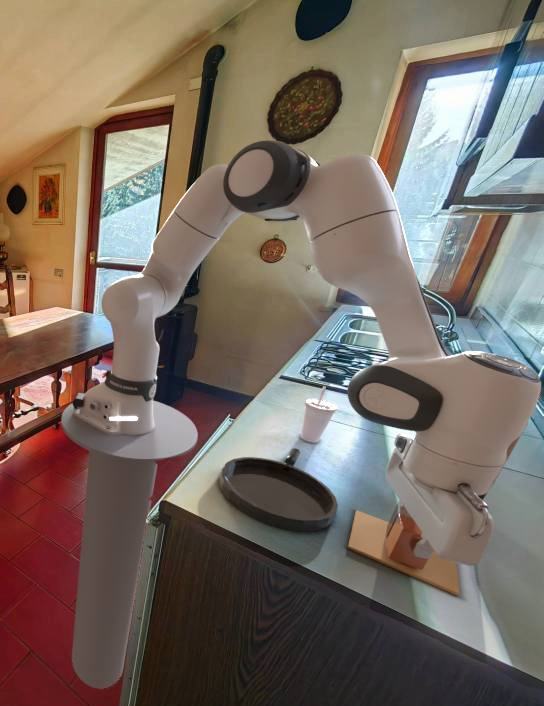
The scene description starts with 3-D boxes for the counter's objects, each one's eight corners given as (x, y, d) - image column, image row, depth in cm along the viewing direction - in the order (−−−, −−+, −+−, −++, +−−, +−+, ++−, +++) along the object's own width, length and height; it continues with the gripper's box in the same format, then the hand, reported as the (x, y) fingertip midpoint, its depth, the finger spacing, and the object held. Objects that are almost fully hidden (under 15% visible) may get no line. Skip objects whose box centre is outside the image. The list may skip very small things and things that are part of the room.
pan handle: (279, 470, 83) (282, 463, 82) (290, 452, 89) (292, 445, 89) (289, 474, 82) (292, 467, 81) (299, 455, 88) (301, 448, 87)
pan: (204, 496, 76) (207, 485, 75) (236, 456, 89) (239, 447, 88) (323, 549, 64) (328, 538, 63) (340, 494, 77) (344, 484, 76)
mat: (347, 548, 64) (348, 545, 64) (355, 512, 72) (356, 509, 72) (458, 596, 56) (459, 594, 56) (453, 549, 64) (454, 547, 64)
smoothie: (306, 430, 101) (322, 381, 95) (331, 443, 95) (350, 391, 90) (288, 434, 99) (304, 384, 93) (313, 447, 93) (331, 394, 88)
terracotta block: (388, 558, 61) (403, 528, 59) (385, 542, 64) (398, 513, 62) (422, 570, 59) (439, 540, 57) (417, 553, 62) (432, 524, 60)
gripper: (529, 519, 45) (475, 603, 51) (441, 437, 63) (408, 506, 68) (458, 505, 48) (414, 586, 53) (392, 429, 65) (364, 496, 70)
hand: (410, 540), depth 61 cm, fingers closed on terracotta block, 4 cm apart
